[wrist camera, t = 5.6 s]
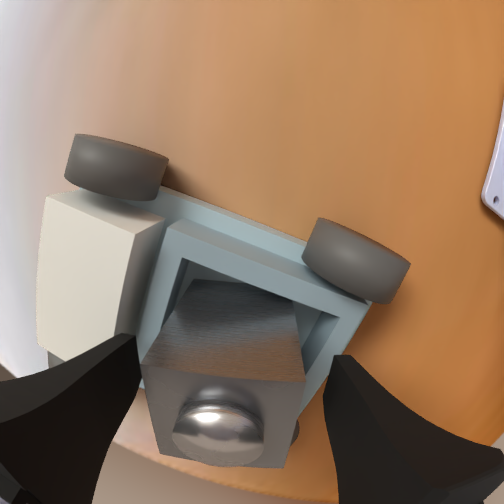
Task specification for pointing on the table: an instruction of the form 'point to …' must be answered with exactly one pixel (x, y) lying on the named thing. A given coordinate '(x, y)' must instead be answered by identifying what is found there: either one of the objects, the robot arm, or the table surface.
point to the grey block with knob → (226, 376)
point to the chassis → (188, 261)
